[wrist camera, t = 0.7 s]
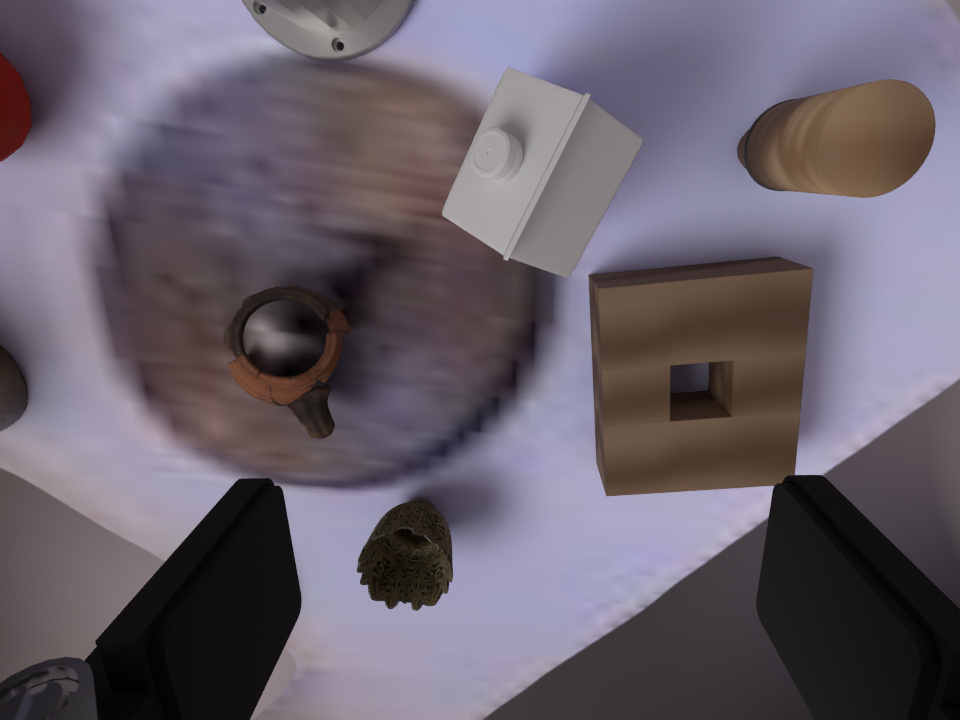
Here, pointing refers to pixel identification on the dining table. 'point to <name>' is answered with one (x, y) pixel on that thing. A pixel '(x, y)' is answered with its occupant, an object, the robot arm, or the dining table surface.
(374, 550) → the dark rounded textured piece
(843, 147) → the oak peg
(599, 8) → the dining table surface
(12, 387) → the pillar candle
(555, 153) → the milk carton
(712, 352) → the walnut block
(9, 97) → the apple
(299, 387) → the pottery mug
